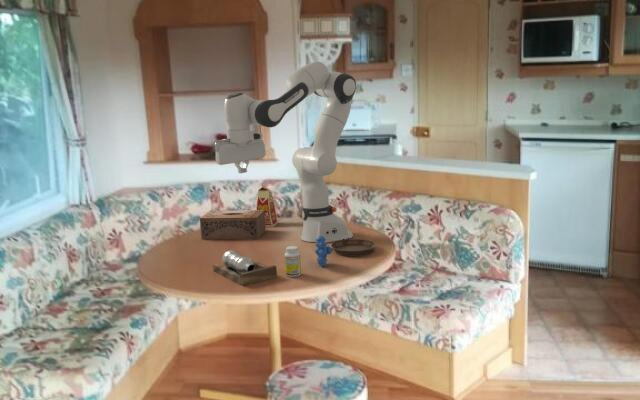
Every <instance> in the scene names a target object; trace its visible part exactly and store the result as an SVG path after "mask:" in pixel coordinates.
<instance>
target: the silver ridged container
mask: <svg viewBox="0 0 640 400" xmlns="http://www.w3.org/2000/svg"><path fill="white" fill-rule="evenodd" d="M252 260H253V259H251V258H250V257H247V256H243V255H241V254H240V253H238V251H236V250H233V249H230V250H227V251H225V252H224V253H223V254H222V257H221V262H222V264H223V265H224V266H225V268H227V267H229V268H233V269H235V270H236V271H237V272H238V273H240V274H241V273H245V272H249V271H253V270H256V266H255V265H254V264H253V261H252Z"/></svg>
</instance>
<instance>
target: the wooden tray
mask: <svg viewBox="0 0 640 400" xmlns="http://www.w3.org/2000/svg"><path fill="white" fill-rule="evenodd" d="M251 260H252V261H253V264H254V265H255V266H256V270H253V271H249V272H245V273H241V274H240V273H238V272H237V271H236V270H235V269H233V268H229V267H224V266H222V265H220V264H219V263H214V264H213V263H212V271H213V272H215V273H217V274H219V275H221V276H223V277H225V278H226V279H228V280H230V281H232V282H234V283H236V284H238V285H240V286H242V287H245V286H247V285H252V284H255V283H256V284H257V283H258V282H264V281H266V280H271V279H274V278H277V277H278V274H277V273H278V272H277V265H275V264H273V265H269V266H267V265H265V264H262V263H260V262H258V261H257V260H254V259H251Z"/></svg>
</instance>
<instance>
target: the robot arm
mask: <svg viewBox="0 0 640 400" xmlns="http://www.w3.org/2000/svg"><path fill="white" fill-rule="evenodd" d="M285 82H286V83H285V88H286V91H285V92H284V93H283V94H281V95H280V96H279V97H277V98H274V99H267V100H265V99H264V100H263V99H262V100H261V99H255V98H253V97H251V96H248V95H247V94H245V93H244V92H236V93H232V94H229V95H227V96H226V97H225V99H224V106H223V107H224V110H223V111H224V118H225V121H226V122H225V123H226V138H223V139H218V140H217V141H216V142H215V143H214V150H215V163H216V164H217V165H219V166H220V165H221V166H224V165H227V164H228V165H229V164H234V165H235V167H236V168H237V172H238V174H244V173H247V172H248V167H249V164H250V161H252V160H257V159H263V158H265V157H266V155H267V153H266V152H267V151H266V145H265V142H264V140H263V138H264V137H263V134H262V133H260V132H255V131H253V130H251V126H260V127H265V128H274V127H277V126H278V125H279V124H280V123H281V122H282V120H283V119H284V117H285V116H286V114H288V112H290V111H291V110H293V108H295V107H296V106H297V105H299V104H301V102H303V100H304V99H306V98H308V97H309V96H310V95H312V94H314V95H316V96H318V97H322V98H326V105H325V107H324V109H323V110H322V112H321V115H320V117H319V119H318V121H317V124H316V125H315V127H314V130H313V135H314V140H313V145H312V146H311V147H309V146H307V147H300V148H298V149H296V150H295V151H294V152H293V154H292V157H291V162H292V165H293V167H294V168H295V170H296V172H297V175H298V179H299V183H300V186H301V195H302V207H301V208H302V209H301V215H302V217H301V218H302V220H303V221H302V223H303V224H302V231H301V237H300V239H301V240H302V241H304V242H308V243H309V242H311V243H317V241H316V239H317V238H318V236H323V237H324V238H325V239H326V240H325V243H326V244H327V243H332V242H333V243H334V242H337V241H341V240H343V239H344V240H348V238H349V239H353V238H354V234H353V232H352V231H351V230H349V229H348V225H347V223H346V222H345V220H344V219H342V218H341V217H339V216H338V215H336V214H335V213H336V212H337V210H338V208H337V207H335V206H332V205H330V202H329V188H328V185H327V183H326V181H325V180H324V177H325V176H326V177H327V176H330V175H331V174H333V173H334V172H335V170H336V169H337V166H338V165H337V164H338V162H337V158H336V153H337V146H338V143H339V139H340V137H341V135H342V133H343V130H344V128H345V126H346V123H347V122H348V119H349V116H350V113H351V109H352V104H351V101H352V99H353V98H354V96H355V93H356V89H357V82H356V79H355V77H353V76H352V75H350V74H348V73H347V72H346V73H344V72H343V73H342V72H339V71H329V69H328V67H327V66H326V64H325V63H324V62H321V61H313V62H310V63H308V64H305V65H303V66H301V67H299V68H298V69H296V70H295V71H293V72H292V73H291V74H290V75H289V76H287V78H286V80H285ZM241 163H243V166H240V165H241ZM323 176H324V177H323ZM352 237H353V238H352Z"/></svg>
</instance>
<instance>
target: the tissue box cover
mask: <svg viewBox="0 0 640 400" xmlns="http://www.w3.org/2000/svg"><path fill="white" fill-rule="evenodd" d="M199 223H200V226H199V227H200V236H201V237H200V238H201V240H259V239H260V238H261V236H262V235H263V234H264V233H265V232H266V231H267V230H266V227H265V214H264V210H257V209H249V210H248V209H247V210H246V209H243V210H241V209H238V210H235V209H233V210H232V209H231V210H229V209H228V210H209V211H207V212H206V213H205V214H203V215H202V216H200V218H199Z"/></svg>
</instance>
